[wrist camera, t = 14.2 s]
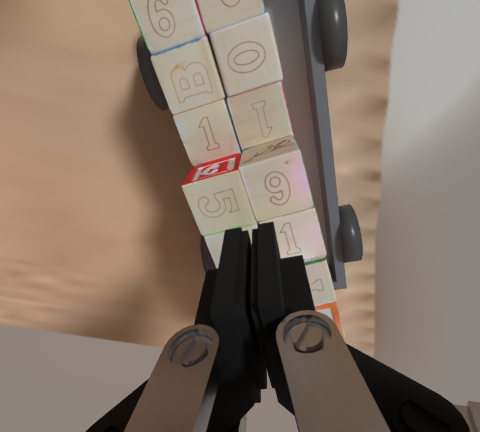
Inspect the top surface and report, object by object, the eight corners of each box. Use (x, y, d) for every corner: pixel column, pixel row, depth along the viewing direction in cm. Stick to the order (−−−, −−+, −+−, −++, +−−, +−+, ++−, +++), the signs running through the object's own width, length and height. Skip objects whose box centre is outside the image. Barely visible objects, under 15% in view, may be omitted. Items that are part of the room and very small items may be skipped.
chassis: (142, 6, 23) (114, -9, 19) (323, -47, 22) (340, -78, 17) (224, 280, 34) (218, 312, 29) (350, 261, 32) (365, 293, 27)
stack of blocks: (172, 13, 23) (87, -40, 12) (255, -18, 22) (250, -110, 10) (252, 255, 31) (247, 359, 20) (314, 241, 30) (346, 343, 19)
